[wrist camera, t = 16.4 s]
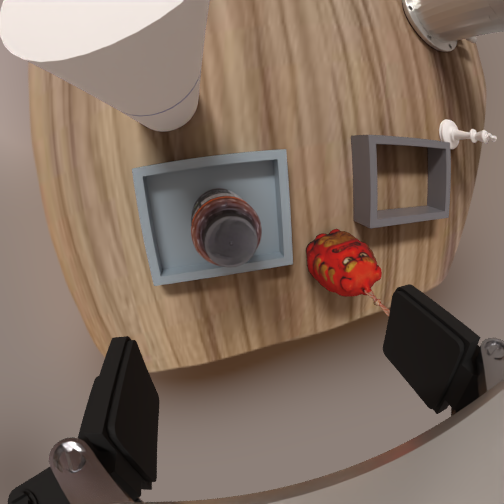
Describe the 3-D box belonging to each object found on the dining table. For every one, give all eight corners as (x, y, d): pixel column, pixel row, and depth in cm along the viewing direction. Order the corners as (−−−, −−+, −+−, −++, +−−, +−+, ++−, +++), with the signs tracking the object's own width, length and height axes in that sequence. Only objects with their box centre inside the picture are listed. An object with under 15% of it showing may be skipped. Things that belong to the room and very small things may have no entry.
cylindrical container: (160, 144, 28) (51, 112, 5) (122, 100, 26) (-21, 5, 3) (211, 103, 28) (269, -36, 5) (172, 59, 25) (144, -110, 2)
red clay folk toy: (349, 219, 36) (428, 259, 22) (357, 266, 38) (426, 320, 24) (296, 239, 35) (358, 294, 21) (308, 287, 38) (365, 355, 24)
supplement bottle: (244, 238, 33) (269, 279, 23) (192, 241, 32) (192, 284, 21) (245, 186, 31) (272, 203, 21) (190, 187, 30) (188, 205, 19)
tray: (279, 149, 31) (286, 149, 29) (286, 256, 35) (292, 264, 33) (136, 167, 29) (132, 168, 26) (156, 276, 33) (154, 285, 31)
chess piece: (452, 154, 36) (499, 161, 26) (436, 139, 34) (485, 143, 25) (459, 129, 35) (505, 133, 25) (442, 113, 33) (490, 113, 24)
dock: (431, 141, 34) (450, 142, 31) (430, 211, 38) (448, 217, 34) (351, 135, 32) (368, 134, 28) (353, 220, 36) (370, 228, 32)
